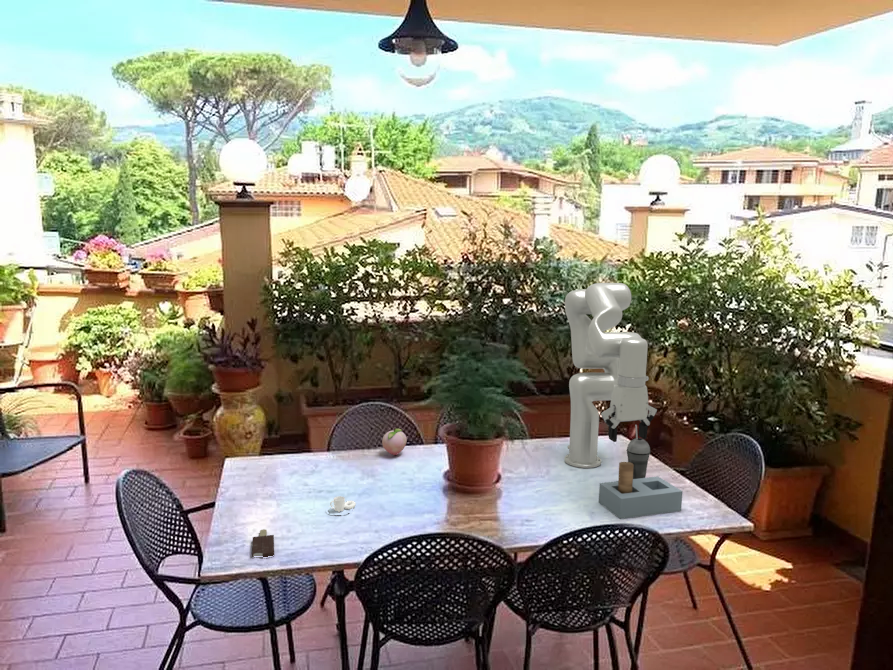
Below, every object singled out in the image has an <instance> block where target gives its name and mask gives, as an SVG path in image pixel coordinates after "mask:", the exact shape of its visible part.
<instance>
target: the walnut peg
mask: <svg viewBox="0 0 893 670" xmlns="http://www.w3.org/2000/svg"><path fill="white" fill-rule="evenodd" d="M633 466H634V465H633V463H630V462H628V461H620V462H619V464H618V480H617V481H618V491H619V492H620V493H622V494H625V493H632V485H633Z"/></svg>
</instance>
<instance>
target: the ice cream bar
mask: <svg viewBox="0 0 893 670" xmlns="http://www.w3.org/2000/svg"><path fill="white" fill-rule="evenodd" d="M251 546H252V547H251V548H252V549H251V558H252V557H254V556H263V557H268V556H273V555H274V556H275V534H269V535H268V533H267V529H265V528H263V529H261V530H259V535H258V536H252V545H251ZM274 556H273V557H274Z"/></svg>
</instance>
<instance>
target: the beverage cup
mask: <svg viewBox="0 0 893 670" xmlns="http://www.w3.org/2000/svg"><path fill="white" fill-rule="evenodd" d="M634 427H635V428H634V429H635V438H633V439H631V440H630V441H629V443H628V444H627V447H626V456H627V462H630V463H633V465H634V466H633V479H639V478H647V476H646V475H647V469H648V463H649V460H650V459H649V458H650V454H651V447H650V445H649V443H648V441H646V439H643V438H642V437H639V435H638V425H637V424H634Z"/></svg>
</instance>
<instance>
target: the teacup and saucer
mask: <svg viewBox="0 0 893 670" xmlns="http://www.w3.org/2000/svg"><path fill="white" fill-rule="evenodd" d="M332 503H333V505H334V507H332V506H333V505H332ZM356 504H357V503H356V502H355V501H354V500H348V501H346V498H345V497H344V496H335V497H334V498H333V500H331V501H330V505H329V507H330V506H331V507H332V508H331V509H332V510H333V511H335V512H336V511H338V512H337V513H341V512H340V511H342V512H344V510H349V509H352V508H353V509H354V508H355V507H356Z"/></svg>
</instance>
